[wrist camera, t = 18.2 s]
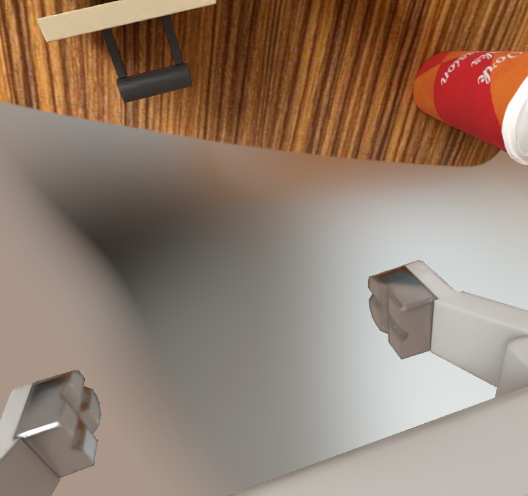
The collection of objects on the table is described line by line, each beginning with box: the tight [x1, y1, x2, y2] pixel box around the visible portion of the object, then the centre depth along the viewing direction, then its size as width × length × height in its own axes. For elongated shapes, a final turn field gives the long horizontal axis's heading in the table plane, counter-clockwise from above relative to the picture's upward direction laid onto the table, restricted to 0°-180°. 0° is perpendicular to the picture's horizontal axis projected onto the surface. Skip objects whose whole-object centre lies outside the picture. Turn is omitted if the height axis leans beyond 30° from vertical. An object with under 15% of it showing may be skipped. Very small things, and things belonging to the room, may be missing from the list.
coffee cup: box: [413, 51, 528, 165], centre depth 33 cm, size 8×8×15 cm
